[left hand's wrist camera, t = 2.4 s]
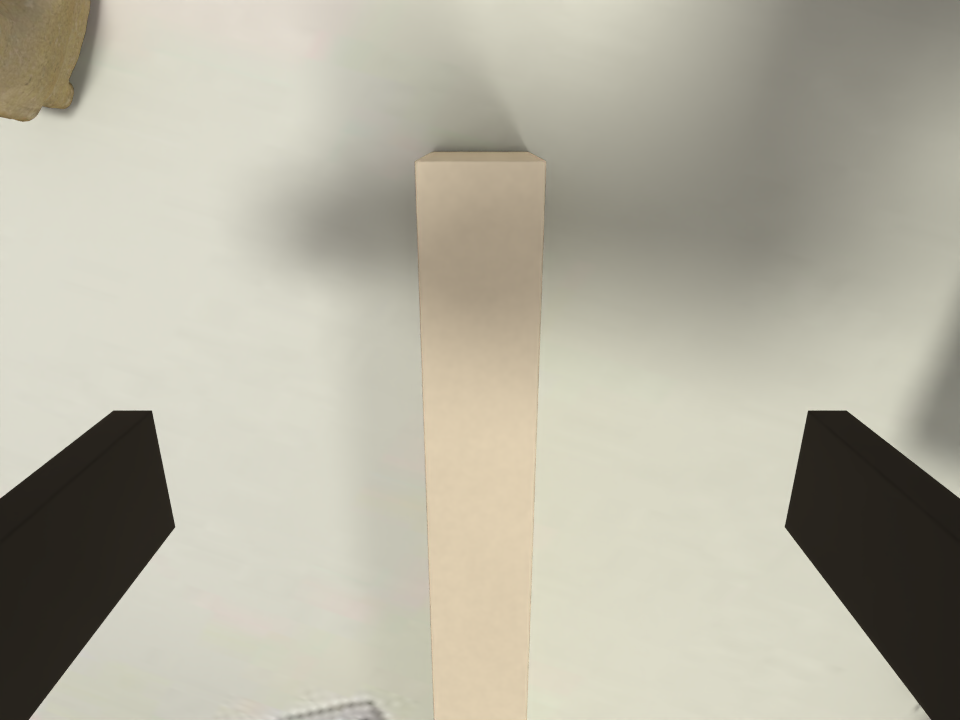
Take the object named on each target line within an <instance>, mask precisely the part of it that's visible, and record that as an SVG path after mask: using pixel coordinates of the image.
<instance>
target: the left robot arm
mask: <svg viewBox="0 0 960 720" xmlns="http://www.w3.org/2000/svg"><path fill="white" fill-rule="evenodd" d="M174 528H175V524H174V519H173V514H172V509H171V504H170V499H169V494H168V489H167V484H166V479H165V474H164V469H163V464H162V459H161V454H160V449H159V444H158V439H157V434H156V429H155V424H154V419H153V414H152V411H112V412H111V413H110V414H109V415H107V416H106V417H105V418H103V419H102V420H101V421H100V422H98V423H97V424H96V425H94V426H93V427H92V428H91V429H89V430H88V431H87V432H85V433H84V434H83V435H82V436H80V437H79V438H78V439H76V440H75V441H74V442H73V443H71V444H70V445H69V446H67V447H66V448H65V449H63V450H62V451H61V452H60V453H58V454H57V455H56V456H54V457H53V458H52V459H51V460H49V461H48V462H47V463H45V464H44V465H43V466H42V467H40V468H39V469H38V470H36V471H35V472H34V473H33V474H31V475H30V476H29V477H27V478H26V479H25V480H24V481H22V482H21V483H20V484H18V485H17V486H16V487H15V488H13V489H12V490H11V491H9V492H8V493H7V494H6V495H4V496H3V497H2V498H0V720H29V719H30V717H31V716H32V715H33V713H34V712H35V711H36V709H37V708H38V707H39V705H40V704H41V703H42V702H43V700H44V699H45V698H46V696H47V695H48V694H49V692H50V691H51V690H52V688H53V687H54V686H55V684H56V683H57V682H58V680H59V679H60V678H61V677H62V675H63V674H64V673H65V671H66V670H67V669H68V667H69V666H70V665H71V663H72V662H73V661H74V659H75V658H76V657H77V656H78V654H79V653H80V652H81V650H82V649H83V648H84V646H85V645H86V644H87V642H88V641H89V640H90V638H91V637H92V636H93V634H94V633H95V632H96V631H97V629H98V628H99V627H100V625H101V624H102V623H103V621H104V620H105V619H106V617H107V616H108V615H109V613H110V612H111V611H112V609H113V608H114V607H115V606H116V604H117V603H118V602H119V600H120V599H121V598H122V596H123V595H124V594H125V592H126V591H127V590H128V588H129V587H130V586H131V585H132V583H133V582H134V581H135V579H136V578H137V577H138V575H139V574H140V573H141V571H142V570H143V569H144V567H145V566H146V565H147V563H148V562H149V561H150V560H151V558H152V557H153V556H154V554H155V553H156V552H157V550H158V549H159V548H160V546H161V545H162V544H163V542H164V541H165V540H166V538H167V537H168V536H169V535H170V533H171V532H172V531H173V529H174ZM785 528H786V529H787V531H788V532H789V533H790V535H791V536H792V537H793V538H794V540H795V541H796V542H797V544H798V545H799V546H800V548H801V549H802V550H803V552H804V553H805V554H806V556H807V557H808V558H809V560H810V561H811V562H812V563H813V565H814V566H815V567H816V569H817V570H818V571H819V573H820V574H821V575H822V577H823V578H824V579H825V581H826V582H827V583H828V585H829V586H830V587H831V588H832V590H833V591H834V592H835V594H836V595H837V596H838V598H839V599H840V600H841V602H842V603H843V604H844V606H845V607H846V608H847V609H848V611H849V612H850V613H851V615H852V616H853V617H854V619H855V620H856V621H857V623H858V624H859V625H860V627H861V628H862V629H863V631H864V632H865V633H866V634H867V636H868V637H869V638H870V640H871V641H872V642H873V644H874V645H875V646H876V648H877V649H878V650H879V652H880V653H881V654H882V656H883V657H884V658H885V659H886V661H887V662H888V663H889V665H890V666H891V667H892V669H893V670H894V671H895V673H896V674H897V675H898V677H899V678H900V679H901V680H902V682H903V683H904V684H905V686H906V687H907V688H908V690H909V691H910V692H911V694H912V695H913V696H914V698H915V699H916V700H917V702H918V703H919V704H920V705H921V707H922V708H923V709H924V711H925V712H926V713H927V715H928V716H929V717H930V719H931V720H960V498H958V497H957V496H956V495H954V494H953V493H952V492H951V491H949V490H948V489H947V488H945V487H944V486H943V485H942V484H940V483H939V482H938V481H936V480H935V479H934V478H933V477H931V476H930V475H929V474H927V473H926V472H925V471H924V470H922V469H921V468H920V467H918V466H917V465H916V464H915V463H913V462H912V461H911V460H909V459H908V458H907V457H906V456H904V455H903V454H902V453H900V452H899V451H898V450H897V449H895V448H894V447H893V446H891V445H890V444H889V443H887V442H886V441H885V440H884V439H882V438H881V437H880V436H878V435H877V434H876V433H875V432H873V431H872V430H871V429H869V428H868V427H867V426H866V425H864V424H863V423H862V422H860V421H859V420H858V419H857V418H855V417H854V416H853V415H851V414H850V413H849V412H848V411H808V414H807V419H806V424H805V429H804V434H803V439H802V444H801V449H800V454H799V459H798V464H797V469H796V474H795V479H794V484H793V489H792V494H791V499H790V504H789V509H788V514H787V519H786V524H785Z"/></svg>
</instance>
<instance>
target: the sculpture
mask: <svg viewBox="0 0 960 720" xmlns="http://www.w3.org/2000/svg"><path fill="white" fill-rule="evenodd" d="M89 12H90V0H0V117H3V118H8V119H15V120H18V121H22V122H24V121H30V120H32V119H33V118H35V117H36V116H37V115H38V113H39V111H40V109H41V107H42V106H45V107H49V108H60V109H65V108H67V107H68V106H69V105H70V104H71V102H72V99H73V94H74V88H73V86H72V84H71V83H70V82H69V78H70V76H71V73H72V71H73V69H74V67H75V65H76V62H77V60H78V58H79V54H80V50H81V46H82V43H83V39H84V36H85V32H86V26H87V19H88V15H89Z"/></svg>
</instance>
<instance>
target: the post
mask: <svg viewBox="0 0 960 720" xmlns="http://www.w3.org/2000/svg"><path fill="white" fill-rule="evenodd" d="M545 181H546V161H545V160H543V159H541V158H539V157H537V156H535V155H533V154H531V153H530V152H431V153H429V154H427V155H426V156H424V157H422V158H420V159H418V160H416V161H415V185H416V214H417V243H418V272H419V301H420V330H421V359H422V387H423V416H424V445H425V474H426V503H427V532H428V561H429V590H430V619H431V647H432V676H433V705H434V720H527V695H528V666H529V637H530V609H531V580H532V552H533V523H534V495H535V466H536V438H537V409H538V381H539V352H540V324H541V295H542V267H543V238H544V210H545Z"/></svg>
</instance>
